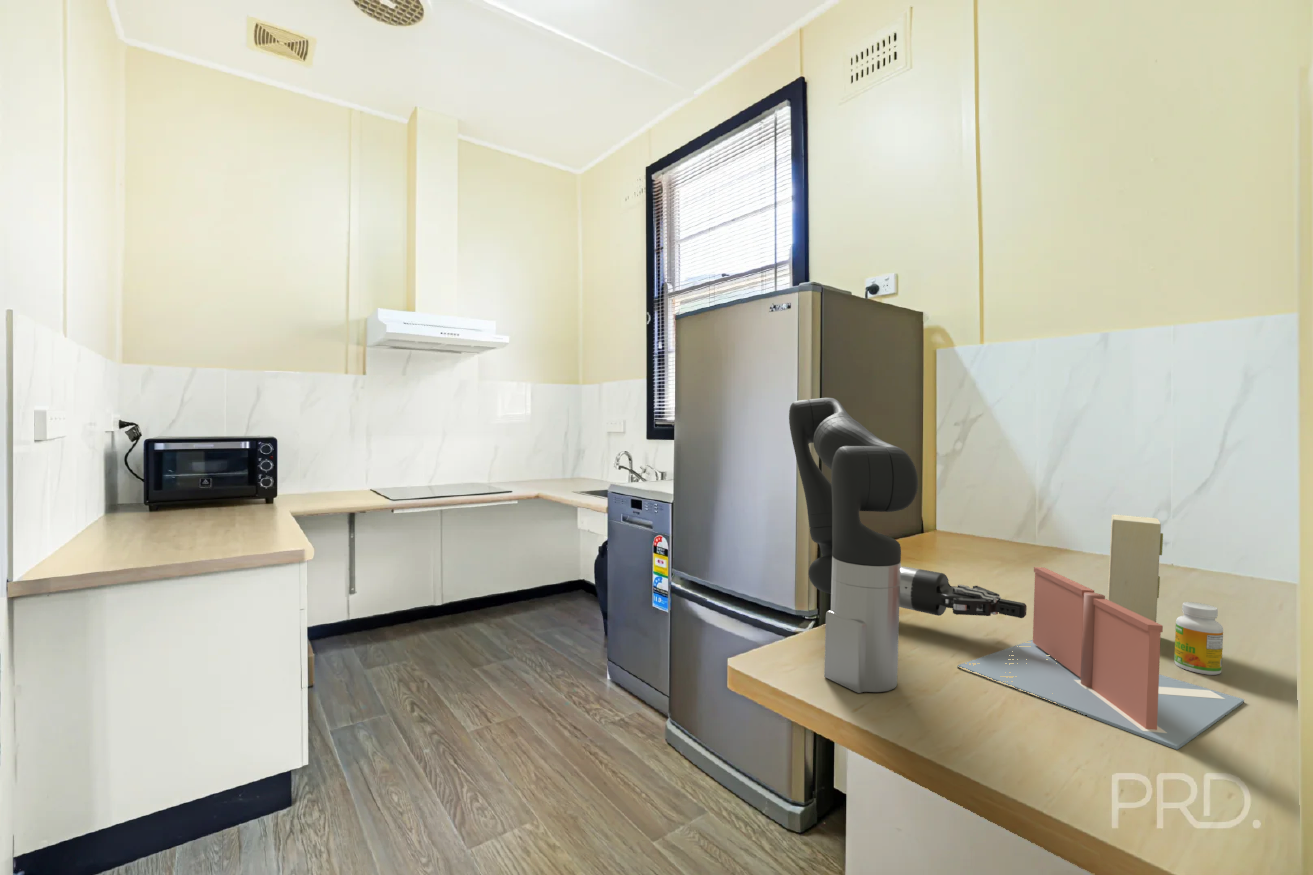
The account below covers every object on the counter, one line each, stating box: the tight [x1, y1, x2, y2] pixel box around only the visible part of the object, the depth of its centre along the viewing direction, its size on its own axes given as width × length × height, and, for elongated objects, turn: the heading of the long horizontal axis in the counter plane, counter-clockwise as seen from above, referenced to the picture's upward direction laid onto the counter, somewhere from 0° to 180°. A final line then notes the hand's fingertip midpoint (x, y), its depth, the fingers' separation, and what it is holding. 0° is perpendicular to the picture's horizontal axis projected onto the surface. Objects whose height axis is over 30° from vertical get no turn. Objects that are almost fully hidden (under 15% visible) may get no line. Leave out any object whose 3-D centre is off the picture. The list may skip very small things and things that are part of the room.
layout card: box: [957, 639, 1245, 751], centre depth 85 cm, size 24×26×1 cm
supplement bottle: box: [1173, 601, 1224, 676], centre depth 91 cm, size 5×5×10 cm
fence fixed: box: [1081, 592, 1164, 730], centre depth 78 cm, size 14×2×13 cm, turn 172°
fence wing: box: [1032, 566, 1095, 678], centre depth 91 cm, size 14×2×13 cm, turn 172°
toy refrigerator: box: [1107, 514, 1164, 623], centre depth 104 cm, size 8×7×21 cm
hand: (1025, 611), depth 97 cm, fingers closed
